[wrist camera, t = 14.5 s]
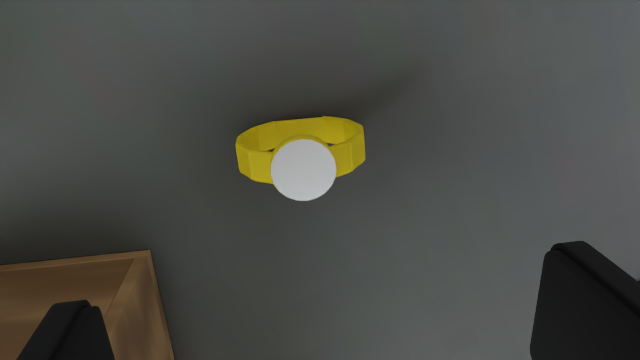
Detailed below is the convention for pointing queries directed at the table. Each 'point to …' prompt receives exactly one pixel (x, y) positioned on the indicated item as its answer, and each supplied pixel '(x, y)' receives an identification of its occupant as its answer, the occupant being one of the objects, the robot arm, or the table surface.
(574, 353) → the robot arm
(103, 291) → the chest
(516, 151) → the table surface
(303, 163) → the watch
